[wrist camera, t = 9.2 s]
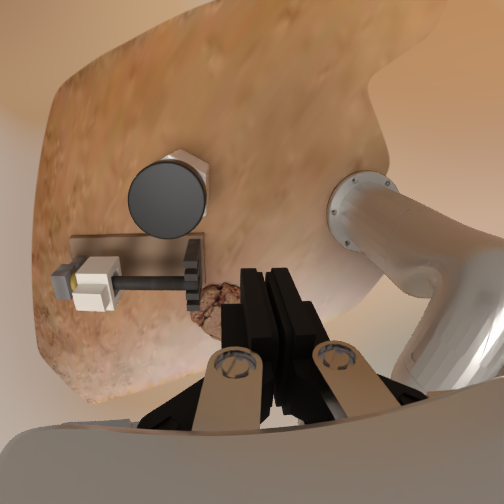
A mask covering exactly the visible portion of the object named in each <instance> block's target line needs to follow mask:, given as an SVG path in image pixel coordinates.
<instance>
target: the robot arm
mask: <svg viewBox="0 0 504 504" xmlns="http://www.w3.org/2000/svg"><path fill="white" fill-rule="evenodd" d="M353 178H354V181H352V180H353ZM385 182H386V183H385ZM333 209H334V211H333V212H332V210H333ZM327 221H328V226H329V229H330V231H331V233H332V235H333V236H334V238H335V239H336V240H337V241H338V242H339V243H340V244H341V245H342V246H343V247H345V248H347V249H349V250H351V251H356V252H363V253H364V254H365V255H366V256H367V257H368V258H369V259H370V260H371V261H372V262H373V263H374V264H375V265H376V266H377V267H378V268H379V269H380V270H381V271H382V272H383V273H384V274H385V275H386V276H387V277H388V278H389V279H390V280H391V281H392V282H393V283H394V284H395V285H396V286H397V287H398V288H399V289H401V290H402V291H403V292H405V293H406V294H408V295H410V296H414V297H417V298H431V300H430V302H429V304H428V306H427V308H426V310H425V312H424V315H423V317H422V318H421V321H420V322H419V324H418V326H417V327H416V329H415V331H414V333H413V334H412V337H411V338H410V339H409V341H408V343H407V344H406V346H405V348H404V350H403V352H402V353H401V355H400V356H399V358H398V360H397V362H396V364H395V366H394V368H393V371H392V375H391V379H389V378H386V377H384V376H381V375H379V374H376V373H375V371H374V370H373V369H372V368H371V366H370V365H369V364H368V362H367V361H366V360H365V359H364V357H363V356H362V355H361V353H360V352H359V351H358V350H357V349H356V348H355V347H354V346H352V345H350V344H348V343H345V342H342V341H330V340H329V337H328V335H327V333H326V331H325V329H324V327H323V325H322V323H321V320H320V318H319V316H318V314H317V312H316V310H315V308H314V306H313V304H312V302H311V301H302V300H301V298H300V295H299V293H298V291H297V289H296V286H295V284H294V282H293V280H292V277H291V275H290V273H289V271H288V269H287V268H272V269H271V272H266V277H265V281H264V277H263V274H262V272H257V270H256V268H241V274H240V303H235V304H221V344H222V349H220V350H218V351H216V352H215V353H214V354H213V355H212V356H211V357H210V359H209V361H208V365H207V369H206V373H205V377H204V378H202V379H201V380H199V381H198V382H197V383H195V384H193V385H192V386H190V387H189V388H187V389H186V390H184V391H183V392H181V393H180V394H178V395H177V396H175V397H174V398H172V399H171V400H169V401H168V402H166V403H164V404H163V405H161V406H160V407H158V408H156V409H155V410H153V411H152V412H150V413H148V414H147V415H146V416H144V417H143V418H142V419H141V420H140V422H131V421H130V419H123V420H109V421H91V422H68V423H63V424H61V425H52V426H45V427H38V428H34V429H30V430H27V431H24V432H22V433H20V434H18V435H16V436H15V437H14V438H13V439H12V440H10V441H9V442H8V444H7V445H6V446H5V447H4V449H3V450H2V452H1V454H0V504H504V239H503V238H500V237H497V236H494V235H491V234H487V233H485V232H482V231H479V230H476V229H473V228H470V227H468V226H466V225H463V224H461V223H459V222H457V221H455V220H453V219H451V218H449V217H447V216H445V215H443V214H441V213H439V212H437V211H435V210H433V209H431V208H429V207H427V206H425V205H423V204H421V203H419V202H417V201H415V200H413V199H410V198H408V197H406V196H404V195H402V194H400V193H399V191H398V189H397V187H396V186H395V184H394V183H393V182H392V181H391V180H390V179H389V178H387V177H386V176H384V175H382V174H380V173H377V172H374V171H360V172H357V173H354V174H351V175H350V176H348V177H346V178H345V179H344V180H343V181H342V182H340V183H339V185H338V186H337V187H336V188H335V190H334V191H333V193H332V195H331V197H330V200H329V203H328V209H327ZM273 394H274V399H275V404H276V406H277V407H279V406H282V410H283V414H284V415H293V416H295V417H296V418H298V426H289V427H279V428H267V429H260V424H261V423H262V422H263V421H264V420H265V419H266V418H267V417H268V416H269V414H270V407H272V401H273Z"/></svg>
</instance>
